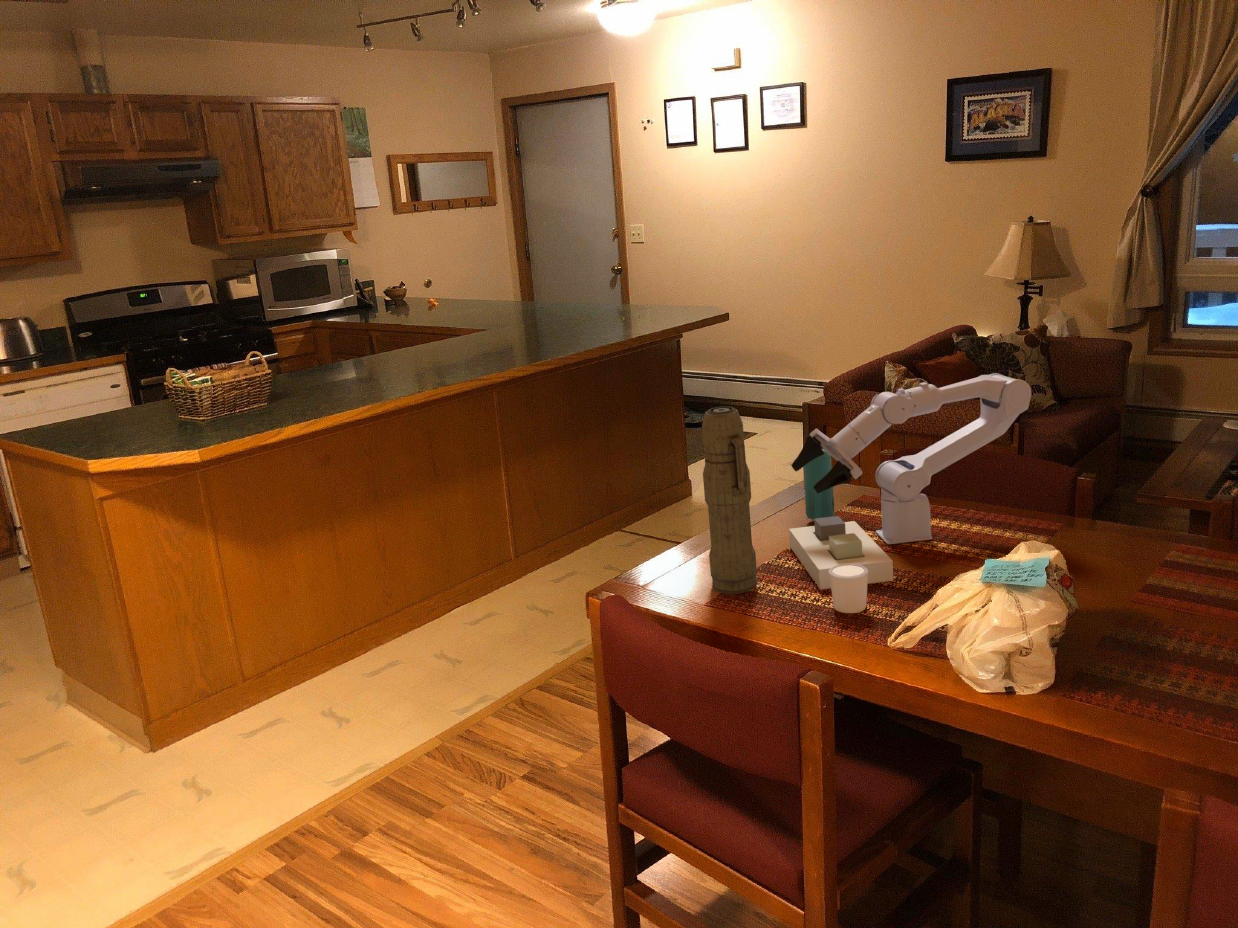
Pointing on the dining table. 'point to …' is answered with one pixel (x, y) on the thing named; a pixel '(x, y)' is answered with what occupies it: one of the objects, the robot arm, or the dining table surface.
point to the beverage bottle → (815, 502)
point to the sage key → (845, 546)
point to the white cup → (849, 587)
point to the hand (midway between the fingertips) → (804, 479)
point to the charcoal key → (829, 527)
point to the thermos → (728, 502)
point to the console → (821, 559)
